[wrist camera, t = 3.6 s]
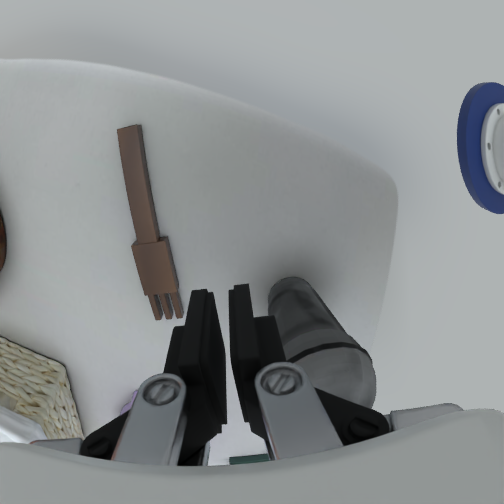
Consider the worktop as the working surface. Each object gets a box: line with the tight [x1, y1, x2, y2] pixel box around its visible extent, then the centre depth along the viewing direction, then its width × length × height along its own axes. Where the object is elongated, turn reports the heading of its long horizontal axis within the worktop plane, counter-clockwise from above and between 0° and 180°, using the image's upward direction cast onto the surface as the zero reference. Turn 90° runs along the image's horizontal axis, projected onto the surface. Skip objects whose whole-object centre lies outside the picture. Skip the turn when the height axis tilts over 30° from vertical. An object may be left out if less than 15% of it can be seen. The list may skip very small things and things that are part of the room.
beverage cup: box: [268, 277, 376, 409], centre depth 19 cm, size 7×7×20 cm
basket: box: [0, 337, 84, 444], centre depth 25 cm, size 24×16×15 cm
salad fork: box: [117, 125, 184, 320], centre depth 24 cm, size 3×18×1 cm, turn 6°
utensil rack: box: [230, 454, 270, 465], centre depth 38 cm, size 14×4×5 cm, turn 96°
